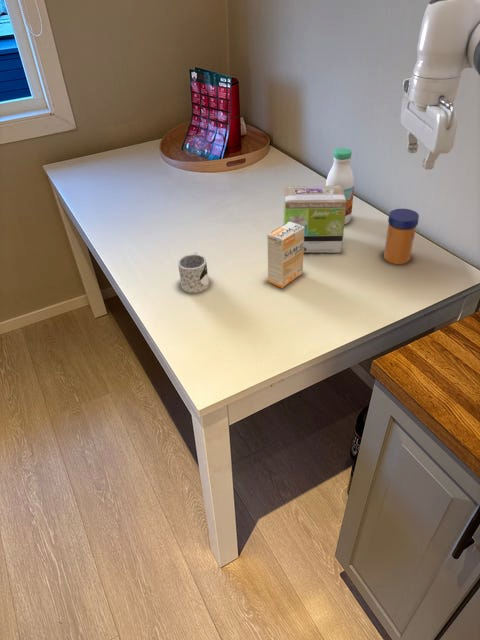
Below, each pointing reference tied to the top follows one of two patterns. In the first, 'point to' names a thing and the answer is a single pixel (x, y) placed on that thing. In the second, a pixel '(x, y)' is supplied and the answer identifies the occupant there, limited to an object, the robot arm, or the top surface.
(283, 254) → the supplement box
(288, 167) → the top surface
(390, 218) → the lid
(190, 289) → the mug
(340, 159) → the milk bottle
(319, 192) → the tea box
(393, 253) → the jar
